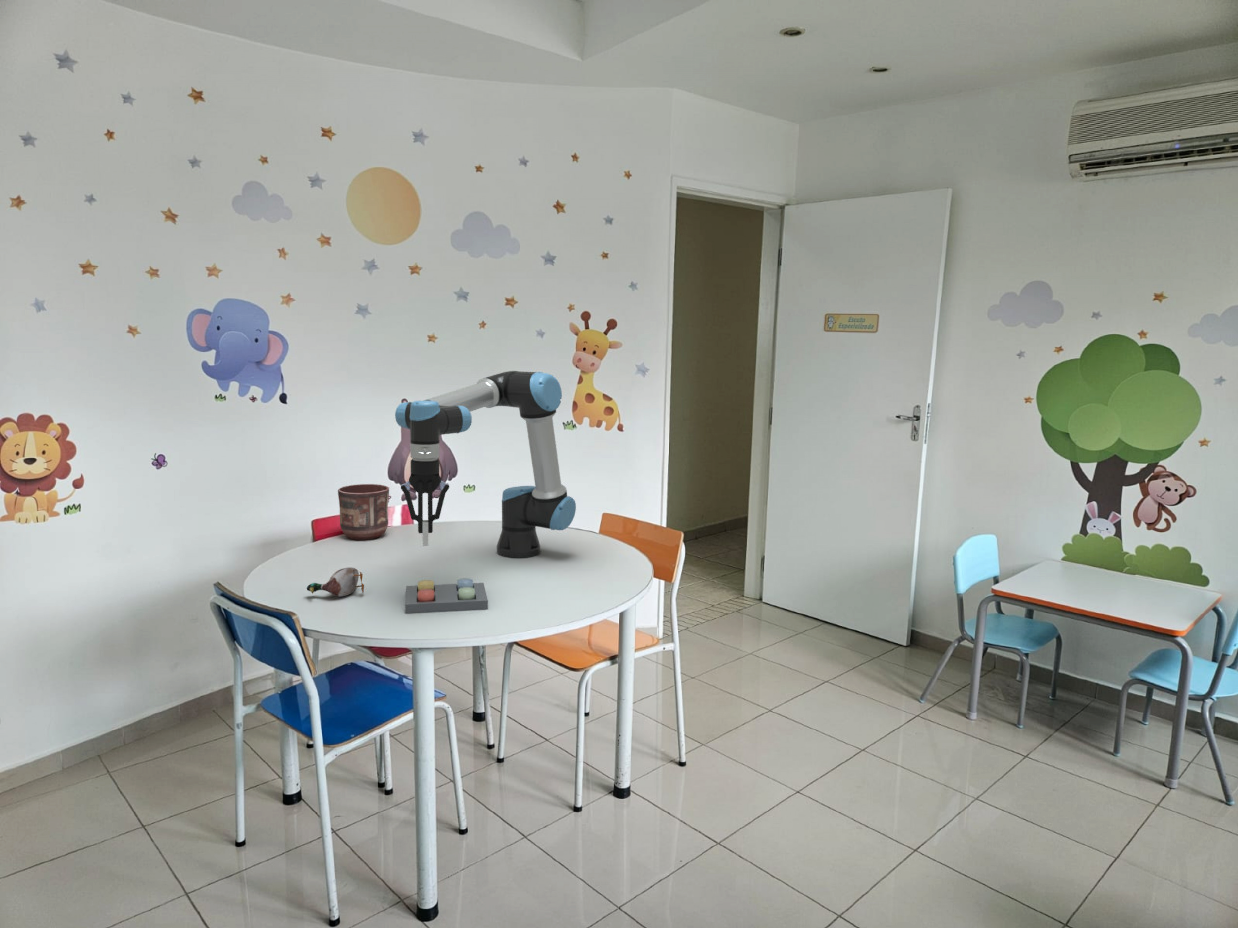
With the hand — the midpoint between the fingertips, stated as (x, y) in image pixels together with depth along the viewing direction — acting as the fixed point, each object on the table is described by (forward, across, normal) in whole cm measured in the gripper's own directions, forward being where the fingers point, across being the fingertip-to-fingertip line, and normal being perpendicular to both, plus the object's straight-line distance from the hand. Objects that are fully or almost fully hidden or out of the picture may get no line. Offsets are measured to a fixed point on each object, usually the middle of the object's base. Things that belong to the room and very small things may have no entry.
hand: (425, 544), depth 212 cm
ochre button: (+17, 0, +8) cm, 18 cm away
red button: (+17, 0, 0) cm, 17 cm away
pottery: (+18, -21, +80) cm, 85 cm away
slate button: (+17, +11, +8) cm, 22 cm away
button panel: (+18, +6, +4) cm, 19 cm away
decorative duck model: (+18, -24, +16) cm, 34 cm away
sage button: (+17, +11, 0) cm, 20 cm away
